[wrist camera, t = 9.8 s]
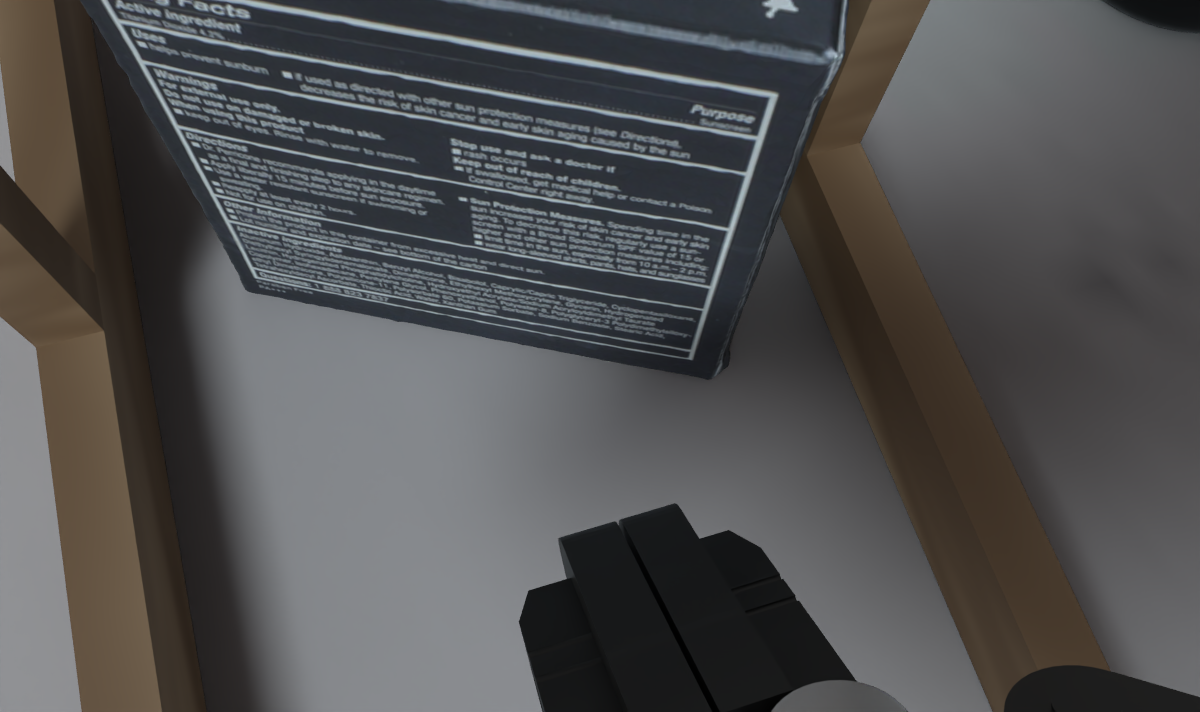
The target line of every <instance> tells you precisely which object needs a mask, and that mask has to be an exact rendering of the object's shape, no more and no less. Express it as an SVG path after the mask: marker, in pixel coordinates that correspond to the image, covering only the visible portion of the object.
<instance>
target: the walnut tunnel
mask: <svg viewBox="0 0 1200 712" xmlns="http://www.w3.org/2000/svg"><path fill="white" fill-rule="evenodd" d="M929 2H930V0H849V10H848V16H847V23H846V49H845V56H844V59H843V61H842V64H841V66H840V68H839V70H838V72H837V74H836V76H835V78H834V80H833V82H832V83H831V85H830V87H829V90H828V92H827V94H826V95H825V97H824V98H823V100H822V102H821V105H820V108H819V111H818V114H817V116H816V119H815V121H814V124H813V127H812V130H811V133H810V135H809V138H808V140H807V142H806V145H805V148H804V151H803V154H802V156H801V159H800V161H799V164H798V166H797V169H796V172H795V175H794V177H793V180H792V183H791V186H790V188H789V191H788V194H787V196H786V198H785V201H784V203H783V206H782V209H781V211H780V216H781V218H782V221H783V223H784V225H785V228H786V230H787V232H788V235H789V237H790V239H791V242H792V244H793V246H794V249H795V251H796V253H797V256H798V258H799V260H800V263H801V265H802V267H803V270H804V272H805V274H806V277H807V279H808V281H809V284H810V286H811V288H812V291H813V293H814V295H815V298H816V300H817V302H818V305H819V307H820V309H821V312H822V314H823V316H824V319H825V321H826V323H827V326H828V328H829V330H830V333H831V335H832V337H833V340H834V342H835V344H836V347H837V349H838V351H839V354H840V356H841V358H842V361H843V363H844V365H845V368H846V370H847V372H848V375H849V377H850V379H851V382H852V384H853V386H854V389H855V391H856V393H857V396H858V398H859V400H860V403H861V405H862V407H863V410H864V412H865V414H866V417H867V419H868V421H869V424H870V426H871V428H872V431H873V433H874V435H875V438H876V440H877V442H878V445H879V447H880V449H881V452H882V454H883V456H884V459H885V461H886V463H887V466H888V468H889V470H890V473H891V475H892V477H893V480H894V482H895V484H896V487H897V489H898V491H899V494H900V496H901V498H902V501H903V503H904V505H905V508H906V510H907V512H908V515H909V517H910V519H911V522H912V524H913V526H914V529H915V531H916V533H917V536H918V538H919V540H920V543H921V545H922V547H923V550H924V552H925V554H926V557H927V559H928V561H929V564H930V566H931V568H932V571H933V573H934V575H935V578H936V580H937V582H938V585H939V587H940V589H941V592H942V594H943V596H944V599H945V601H946V603H947V606H948V608H949V610H950V613H951V615H952V617H953V620H954V622H955V624H956V627H957V629H958V631H959V634H960V636H961V638H962V641H963V643H964V645H965V648H966V650H967V652H968V655H969V657H970V659H971V662H972V664H973V666H974V669H975V671H976V673H977V676H978V678H979V680H980V683H981V685H982V687H983V690H984V692H985V694H986V697H987V699H988V701H989V704H990V706H991V708H992V711H993V712H1004V705H1005V700H1006V698H1007V695H1008V693H1009V691H1010V690H1011V688H1012V687H1013V686H1014V685H1015V684H1016V683H1017V682H1018V681H1019V680H1020V679H1022V678H1023V677H1025V676H1027V675H1028V674H1030V673H1032V672H1035V671H1038V670H1040V669H1044V668H1048V667H1053V666H1062V665H1081V666H1089V667H1095V668H1099V669H1104V670H1108V671H1111V670H1110V668H1109V666H1108V664H1107V662H1106V660H1105V658H1104V656H1103V654H1102V651H1101V649H1100V647H1099V645H1098V643H1097V641H1096V639H1095V637H1094V635H1093V632H1092V630H1091V628H1090V626H1089V624H1088V622H1087V620H1086V618H1085V616H1084V614H1083V611H1082V609H1081V607H1080V605H1079V603H1078V601H1077V599H1076V597H1075V595H1074V592H1073V590H1072V588H1071V586H1070V584H1069V582H1068V580H1067V578H1066V576H1065V573H1064V571H1063V569H1062V567H1061V565H1060V563H1059V561H1058V559H1057V557H1056V554H1055V552H1054V550H1053V548H1052V546H1051V544H1050V542H1049V540H1048V538H1047V535H1046V533H1045V531H1044V529H1043V527H1042V525H1041V523H1040V521H1039V519H1038V517H1037V514H1036V512H1035V510H1034V508H1033V506H1032V504H1031V502H1030V500H1029V498H1028V495H1027V493H1026V491H1025V489H1024V487H1023V485H1022V483H1021V481H1020V479H1019V476H1018V474H1017V472H1016V470H1015V468H1014V466H1013V464H1012V462H1011V460H1010V457H1009V455H1008V453H1007V451H1006V449H1005V447H1004V445H1003V443H1002V441H1001V438H1000V436H999V434H998V432H997V430H996V428H995V426H994V424H993V422H992V420H991V417H990V415H989V413H988V411H987V409H986V407H985V405H984V403H983V401H982V398H981V396H980V394H979V392H978V390H977V388H976V386H975V384H974V382H973V379H972V377H971V375H970V373H969V371H968V369H967V367H966V365H965V363H964V360H963V358H962V356H961V354H960V352H959V350H958V348H957V346H956V344H955V341H954V339H953V337H952V335H951V333H950V331H949V329H948V327H947V325H946V323H945V320H944V318H943V316H942V314H941V312H940V310H939V308H938V306H937V304H936V301H935V299H934V297H933V295H932V293H931V291H930V289H929V287H928V285H927V282H926V280H925V278H924V276H923V274H922V272H921V270H920V268H919V266H918V263H917V261H916V259H915V257H914V255H913V253H912V251H911V249H910V247H909V244H908V242H907V240H906V238H905V236H904V234H903V232H902V230H901V228H900V226H899V223H898V221H897V219H896V217H895V215H894V213H893V211H892V209H891V207H890V204H889V202H888V200H887V198H886V196H885V194H884V192H883V190H882V188H881V185H880V183H879V181H878V179H877V177H876V175H875V173H874V171H873V169H872V166H871V164H870V162H869V160H868V158H867V156H866V154H865V152H864V150H863V147H862V145H861V143H860V142H861V140H862V138H863V136H864V134H865V132H866V130H867V128H868V126H869V124H870V122H871V120H872V118H873V116H874V114H875V112H876V110H877V107H878V105H879V103H880V101H881V99H882V97H883V95H884V93H885V91H886V89H887V87H888V85H889V83H890V81H891V79H892V77H893V75H894V73H895V71H896V69H897V67H898V65H899V63H900V61H901V59H902V57H903V55H904V53H905V51H906V49H907V47H908V45H909V42H910V40H911V38H912V36H913V34H914V32H915V30H916V28H917V26H918V24H919V22H920V20H921V18H922V16H923V14H924V12H925V10H926V8H927V6H928V4H929ZM0 64H1V72H2V80H3V88H4V96H5V104H6V112H7V119H8V127H9V135H10V143H11V151H12V159H13V167H14V175H15V182H14V181H13V180H12V179H11V177H10V176H9V175H8V174H7V173H6V172H5V171H4V169H3V168H2V167H1V166H0V317H1V318H3V319H4V320H5V321H6V322H7V323H8V324H9V325H11V326H12V327H13V328H14V329H15V330H16V331H18V332H19V333H20V334H21V335H22V336H23V337H25V338H26V339H27V340H28V341H29V342H30V343H31V344H33V345H34V346H35V347H36V350H37V358H38V366H39V374H40V382H41V390H42V398H43V406H44V414H45V422H46V430H47V438H48V446H49V454H50V462H51V470H52V478H53V486H54V494H55V502H56V510H57V518H58V525H59V533H60V541H61V549H62V557H63V565H64V573H65V581H66V589H67V597H68V605H69V613H70V621H71V629H72V637H73V645H74V653H75V661H76V669H77V677H78V685H79V693H80V701H81V709H82V712H207V710H206V704H205V698H204V692H203V686H202V680H201V674H200V668H199V662H198V656H197V650H196V644H195V638H194V632H193V626H192V620H191V614H190V608H189V602H188V596H187V590H186V584H185V578H184V572H183V566H182V560H181V554H180V548H179V543H178V537H177V531H176V525H175V519H174V513H173V507H172V501H171V495H170V489H169V483H168V477H167V471H166V465H165V459H164V453H163V447H162V441H161V435H160V429H159V423H158V417H157V411H156V405H155V399H154V393H153V387H152V381H151V375H150V369H149V363H148V357H147V351H146V345H145V339H144V333H143V327H142V321H141V315H140V309H139V303H138V297H137V291H136V285H135V279H134V273H133V267H132V261H131V255H130V249H129V243H128V237H127V231H126V225H125V219H124V213H123V207H122V201H121V196H120V190H119V184H118V178H117V172H116V166H115V160H114V154H113V148H112V142H111V136H110V130H109V124H108V118H107V112H106V106H105V100H104V94H103V88H102V82H101V76H100V70H99V64H98V58H97V52H96V46H95V40H94V34H93V28H92V22H91V17H90V16H89V14H88V13H87V11H86V9H85V8H84V6H83V4H82V3H81V1H80V0H0Z"/></svg>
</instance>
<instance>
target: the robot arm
mask: <svg viewBox="0 0 1200 712" xmlns="http://www.w3.org/2000/svg"><path fill="white" fill-rule="evenodd" d="M559 547H560V552H561V556H562V560H563V565H564V569H565V573H566V577H567V579H566V580H562V581H559V582H556V583H552V584H549V585H546V586H542V587H539V588H536V589H532V590H529V591H528V594H527V597H526V601H525V604H524V607H523V610H522V614H521V617H520V620H519V624H520V628H521V632H522V636H523V639H524V643H525V647H526V651H527V655H528V658H529V662H530V666H531V670H532V674H533V677H534V681H535V685H536V689H537V693H538V696H539V700H540V704H541V708H542V712H908V711H907V710H906V709H905V708H904V707H903V706H902V705H901V704H900V703H899V702H898V701H897V700H896V699H895V698H893V697H892V696H890V695H889V694H888V693H886V692H884V691H882V690H880V689H878V688H876V687H873V686H870V685H867V684H864V683H860V682H857V681H856V680H855V678H854V677H853V676H852V674H851V673H850V671H849V670H848V669H847V667H846V666H845V664H844V663H843V662H842V660H841V659H840V657H839V656H838V655H837V653H836V652H835V650H834V649H833V648H832V646H831V645H830V643H829V642H828V641H827V639H826V638H825V636H824V635H823V634H822V632H821V631H820V630H819V628H818V627H817V625H816V624H815V623H814V621H813V620H812V618H811V617H810V616H809V614H808V613H807V611H806V610H805V609H804V607H803V606H802V604H801V603H800V602H799V601H797V600H796V598H795V595H794V593H793V592H792V590H791V589H790V588H789V586H788V585H787V584H786V582H785V581H784V579H782V580H781V577H780V574H779V572H778V571H777V570H776V568H775V567H774V565H773V564H772V563H771V561H770V560H769V558H768V557H767V556H766V554H765V553H764V551H763V550H762V549H761V548H760V547H758V546H757V545H755V544H753V543H751V542H749V541H748V540H746V539H744V538H742V537H740V536H738V535H737V534H735V533H733V532H731V531H729V530H728V531H724V532H721V533H718V534H714V535H711V536H708V537H704V538H701V539H699V538H698V536H697V534H696V533H695V531H694V530H693V528H692V526H691V525H690V523H689V522H688V520H687V518H686V517H685V515H684V514H683V512H682V510H681V509H680V507H679V506H678V505H677V504H671V505H668V506H665V507H661V508H658V509H654V510H651V511H648V512H644V513H641V514H638V515H634V516H631V517H627V518H624V519H621V520H619V526H618V524H617V523H616V522H611V523H608V524H604V525H601V526H598V527H594V528H591V529H587V530H584V531H581V532H577V533H574V534H570V535H567V536H564V537H560V538H559ZM1004 712H1200V697H1197V696H1194V695H1190V694H1187V693H1183V692H1180V691H1177V690H1173V689H1170V688H1166V687H1163V686H1159V685H1156V684H1152V683H1149V682H1146V681H1142V680H1139V679H1135V678H1132V677H1128V676H1125V675H1122V674H1118V673H1115V672H1111V671H1108V670H1104V669H1099V668H1095V667H1089V666H1081V665H1062V666H1053V667H1048V668H1044V669H1040V670H1038V671H1035V672H1032V673H1030V674H1028V675H1027V676H1025V677H1023V678H1022V679H1020V680H1019V681H1018V682H1017V683H1016V684H1015V685H1014V686H1013V687H1012V688H1011V690H1010V691H1009V693H1008V695H1007V698H1006V700H1005V705H1004Z"/></svg>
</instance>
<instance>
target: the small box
mask: <svg viewBox="0 0 1200 712" xmlns="http://www.w3.org/2000/svg"><path fill="white" fill-rule="evenodd" d="M80 1H81V3H82V4H83V6H84V8H85V9H86V11H87V13H88V14H89V16H90V17H91V18H92V19H93V20H94V21H95V23H96V25H97V27H98V29H99V31H100V32H101V34H102V36H103V37H104V39H105V41H106V42H107V44H108V46H109V47H110V49H111V50H112V52H113V53H114V55H115V58H116V62H117V63H118V65H119V66H120V67H121V68H122V69H123V70H124V71H125V72H126V73H127V75H128V77H129V80H130V85H131V86H132V88H133V90H134V91H135V92H136V94H137V95H138V97H139V99H140V101H141V103H142V106H143V108H144V110H145V112H146V114H147V115H148V117H149V118H150V120H151V121H152V123H153V124H154V126H155V128H156V129H157V131H158V133H159V134H160V136H161V138H162V140H163V142H164V144H165V145H166V147H167V149H168V150H169V152H170V154H171V156H172V158H173V159H174V161H175V162H176V164H177V166H178V167H179V169H180V171H181V172H182V174H183V177H184V178H185V179H186V181H187V184H188V186H189V187H190V188H191V190H192V192H193V194H194V196H195V197H196V199H197V200H198V201H199V202H200V204H201V206H202V209H203V212H204V214H205V216H206V217H207V219H208V221H209V222H210V224H211V226H212V227H213V229H214V230H215V232H216V233H217V235H218V237H219V239H220V241H221V242H222V243H223V247H224V249H225V250H226V252H227V254H228V256H229V258H230V260H231V262H232V263H233V265H234V267H235V269H236V270H237V272H238V274H239V276H240V280H241V282H242V284H243V286H244V288H245V290H247V291H249V292H252V293H257V294H263V295H269V296H274V297H280V298H284V299H287V300H294V301H299V302H303V303H306V304H314V305H318V306H324V307H330V308H334V309H339V310H345V311H350V312H356V313H361V314H366V315H371V316H376V317H381V318H386V319H391V320H394V321H397V322H408V323H414V324H418V325H423V326H428V327H433V328H438V329H443V330H449V331H455V332H461V333H466V334H471V335H476V336H482V337H486V338H490V339H496V340H502V341H508V342H513V343H518V344H522V345H529V346H533V347H538V348H544V349H550V350H555V351H559V352H564V353H570V354H576V355H581V356H586V357H591V358H597V359H601V360H606V361H612V362H618V363H623V364H628V365H634V366H640V367H645V368H651V369H658V370H663V371H668V372H674V373H680V374H686V375H691V376H696V377H700V378H704V379H707V380H709V379H712V378H713V377H715V376H716V375H718V374H719V373H720V372H721V371H722V370H723V369H725V368H726V367H727V366H728V364H729V359H730V352H729V344H730V342H731V339H732V337H733V334H734V331H735V328H736V326H737V323H738V321H739V318H740V316H741V313H742V309H743V307H744V305H745V303H746V300H747V298H748V296H749V293H750V291H751V288H752V286H753V283H754V281H755V279H756V277H757V275H758V272H759V269H760V265H761V262H762V260H763V258H764V255H765V252H766V249H767V246H768V243H769V240H770V238H771V236H772V233H773V231H774V227H775V224H776V221H777V219H778V217H779V214H780V211H781V209H782V206H783V203H784V201H785V198H786V196H787V194H788V191H789V188H790V186H791V183H792V180H793V177H794V175H795V172H796V169H797V166H798V164H799V161H800V159H801V156H802V154H803V151H804V148H805V145H806V142H807V140H808V138H809V135H810V133H811V130H812V127H813V124H814V121H815V119H816V116H817V114H818V111H819V108H820V105H821V102H822V100H823V98H824V97H825V95H826V94H827V92H828V90H829V87H830V85H831V83H832V82H833V80H834V78H835V76H836V74H837V72H838V70H839V68H840V66H841V64H842V61H843V59H844V56H845V49H846V23H847V16H848V10H849V0H80Z"/></svg>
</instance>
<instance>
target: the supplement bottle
mask: <svg viewBox="0 0 1200 712" xmlns="http://www.w3.org/2000/svg"><path fill="white" fill-rule="evenodd" d="M1104 1H1105V2H1107V3H1108V4H1110V5H1111V6H1113V7H1114V8H1116V9H1118V10H1119V11H1121V12H1123V13H1125V14H1127V15H1129V16H1131V17H1133V18H1135V19H1138V20H1140V21H1142V22H1145V23H1148V24H1151V25H1154V26H1157V27H1161V28H1165V29H1169V30H1174V31H1180V32H1189V33H1200V0H1104Z"/></svg>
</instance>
